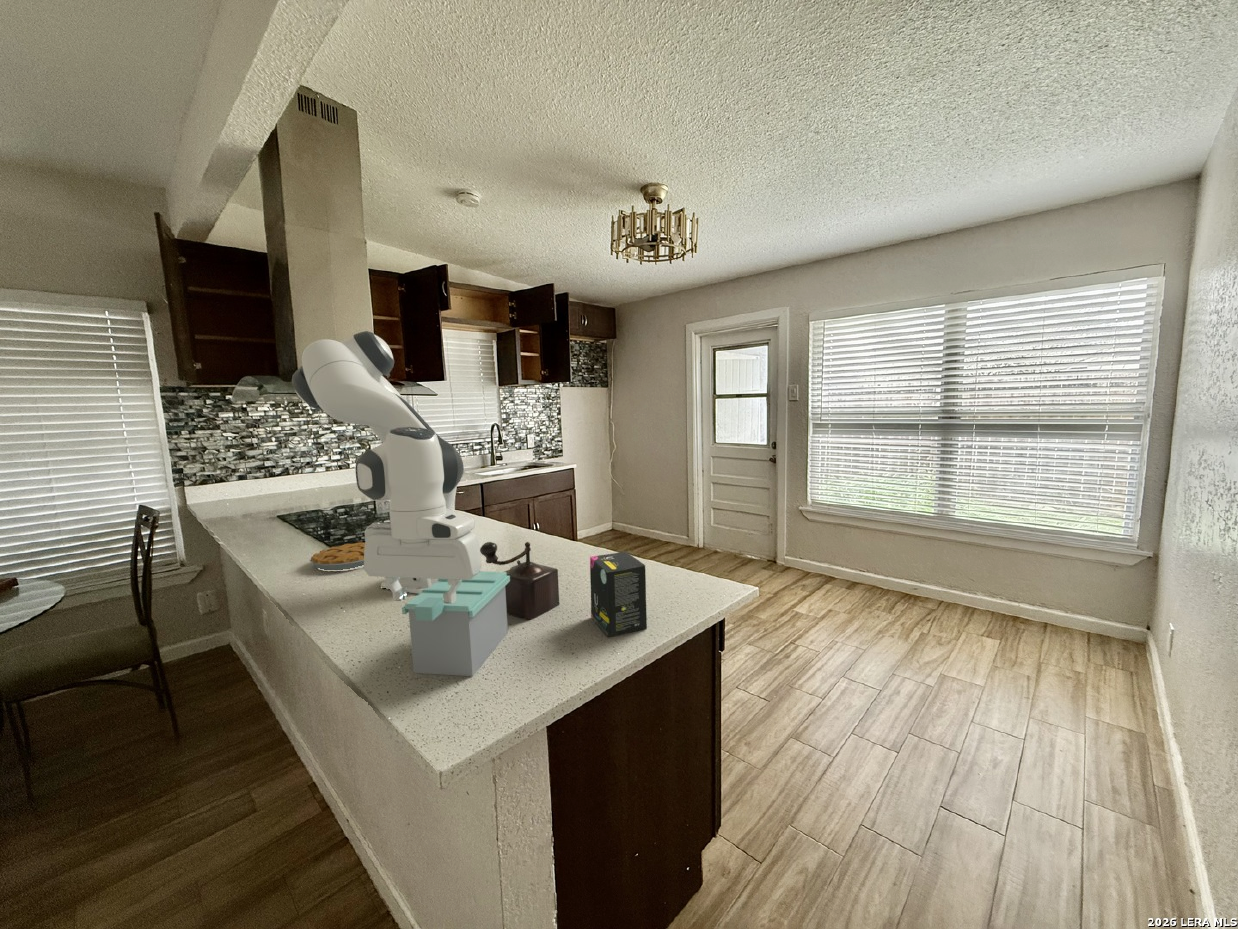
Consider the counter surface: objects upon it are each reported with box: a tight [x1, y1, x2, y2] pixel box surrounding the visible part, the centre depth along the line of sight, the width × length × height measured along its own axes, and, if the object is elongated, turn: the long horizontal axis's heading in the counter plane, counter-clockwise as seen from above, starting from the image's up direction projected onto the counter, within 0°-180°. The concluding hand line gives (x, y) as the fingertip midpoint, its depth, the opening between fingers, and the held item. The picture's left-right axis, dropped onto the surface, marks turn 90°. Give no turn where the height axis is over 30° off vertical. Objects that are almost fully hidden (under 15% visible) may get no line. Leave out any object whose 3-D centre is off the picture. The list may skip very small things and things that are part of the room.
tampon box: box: [589, 551, 648, 638], centre depth 102 cm, size 11×9×15 cm
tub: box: [408, 587, 509, 677], centre depth 92 cm, size 12×17×12 cm
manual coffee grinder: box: [480, 541, 560, 621], centre depth 109 cm, size 16×11×18 cm
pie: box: [309, 542, 366, 570], centre depth 151 cm, size 22×22×5 cm
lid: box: [401, 570, 510, 621], centre depth 89 cm, size 14×21×3 cm, turn 172°
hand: (425, 601), depth 80 cm, fingers open, 8 cm apart
